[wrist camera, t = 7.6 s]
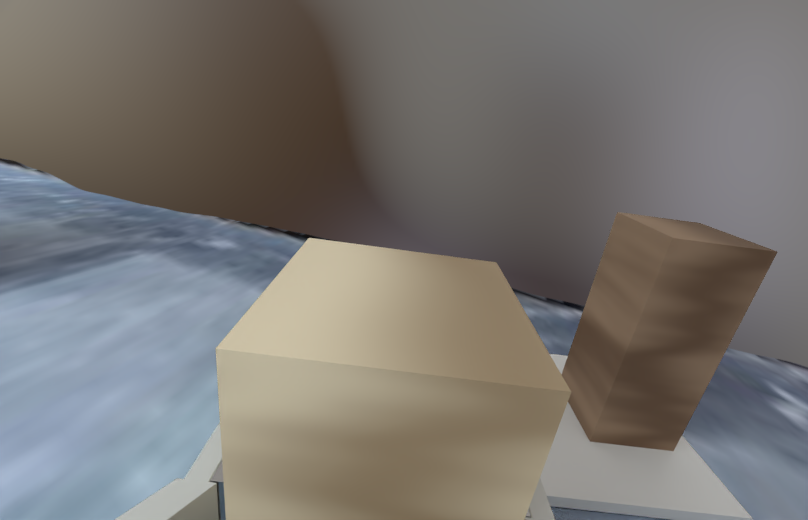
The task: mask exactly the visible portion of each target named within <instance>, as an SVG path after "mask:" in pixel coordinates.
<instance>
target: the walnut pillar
mask: <svg viewBox="0 0 808 520" xmlns="http://www.w3.org/2000/svg"><path fill="white" fill-rule="evenodd" d="M776 254H777V251H774V250H771V249H769V248H766V247H763V246H760V245H758V244H755V243H752V242H750V241H747V240H744V239H741V238H739V237H736V236H733V235H731V234H727V233H725V232H722V231H719V230H717V229H714V228H712V227H709V226H706V225H703V224H701V223H695V222H687V221H680V220H672V219H665V218H657V217H650V216H642V215H635V214H628V213H620V212H617V214H616V217H615V220H614V223H613V226H612V229H611V232H610V235H609V238H608V241H607V243H606V246H605V249H604V252H603V255H602V258H601V261H600V264H599V267H598V270H597V273H596V275H595V278H594V281H593V284H592V287H591V290H590V293H589V296H588V299H587V302H586V305H585V308H584V310H583V313H582V316H581V319H580V322H579V325H578V328H577V331H576V334H575V337H574V340H573V342H572V345H571V348H570V351H569V354H568V357H567V360H566V363H565V366H564V369H563V372H562V377H563V378H564V380H565V382H566V383H567V385H568V387H569V389H570V390H571V394H570V397H569V400H568V403H569V405H570V406H571V408H572V410H573V412H574V414H575V415H576V417H577V419H578V421H579V423H580V425H581V426H582V428H583V430H584V432H585V434H586V436H587V437H588V439H589V441H590V442H598V443H606V444H615V445H624V446H632V447H641V448H649V449H658V450H667V451H674V449H675V447H676V445H677V443H678V442H679V440H680V438H681V436H682V434H683V432H684V430H685V428H686V426H687V424H688V422H689V420H690V419H691V417H692V415H693V413H694V411H695V409H696V407H697V405H698V403H699V401H700V399H701V398H702V396H703V394H704V392H705V390H706V388H707V386H708V384H709V382H710V380H711V378H712V376H713V375H714V373H715V371H716V369H717V367H718V365H719V363H720V361H721V359H722V357H723V355H724V353H725V352H726V350H727V348H728V346H729V344H730V342H731V340H732V338H733V336H734V334H735V332H736V330H737V329H738V327H739V325H740V323H741V321H742V319H743V317H744V315H745V313H746V311H747V309H748V307H749V306H750V304H751V302H752V300H753V298H754V296H755V294H756V292H757V290H758V288H759V286H760V284H761V283H762V280H763V279H764V277H765V275H766V273H767V271H768V269H769V267H770V265H771V263H772V261H773V260H774V258H775V256H776Z"/></svg>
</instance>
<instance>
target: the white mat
mask: <svg viewBox="0 0 808 520" xmlns="http://www.w3.org/2000/svg"><path fill="white" fill-rule="evenodd" d="M550 356H551V358H552V359H553V361H554V363H555V364H556V366H557V368H558V370H559V371H560V373H561V375H562V372H563V369H564V366H565V363H566V360H567V357H568V356H564V355H556V354H550ZM540 479H541V482H542V484H543V487H544V490H545V493H546V495H547V498H548V501H549V504H550V506H553V507H562V508H571V509H580V510H589V511H598V512H607V513H616V514H625V515H634V516H644V517H653V518H662V519H671V520H752V519H753V518H752V517H751V516H750V515H749V514H748V512H747V511H746V510H745V509H744V508H743V507H742V505H741V504H740V503H739V502H738V501H737V500H736V498H735V497H734V496H733V495H732V494H731V492H730V491H729V490H728V489H727V488H726V487H725V485H724V484H723V483H722V482H721V481H720V479H719V478H718V477H717V476H716V475H715V474H714V472H713V471H712V470H711V469H710V468H709V467H708V465H707V464H706V463H705V462H704V461H703V459H702V458H701V457H700V456H699V455H698V454H697V452H696V451H695V450H694V449H693V448H692V447H691V445H690V444H689V443H688V442H687V441H686V439H685V438H684V437H683V436H681V438H680V440H679V442H678V443H677V445H676V447H675V449H674V451H667V450H658V449H649V448H641V447H632V446H624V445H615V444H606V443H598V442H590V441H589V439H588V437H587V436H586V434H585V432H584V430H583V428H582V426H581V425H580V423H579V421H578V419H577V417H576V415H575V414H574V412H573V410H572V408H571V406H570V405H569V403H568V402H567V405H566V408H565V411H564V413H563V416H562V419H561V422H560V424H559V427H558V430H557V432H556V435H555V438H554V441H553V443H552V446H551V449H550V451H549V454H548V457H547V460H546V462H545V465H544V468H543V470H542V473H541V476H540Z"/></svg>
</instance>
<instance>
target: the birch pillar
mask: <svg viewBox="0 0 808 520" xmlns="http://www.w3.org/2000/svg"><path fill="white" fill-rule="evenodd" d="M216 362H217V379H218V396H219V413H220V430H221V447H222V464H223V481H224V498H225V515H226V520H524V519H525V517H526V514H527V511H528V509H529V506H530V503H531V500H532V498H533V495H534V492H535V490H536V487H537V484H538V481H539V479H540V476H541V473H542V470H543V468H544V465H545V462H546V460H547V457H548V454H549V451H550V449H551V446H552V443H553V441H554V438H555V435H556V432H557V430H558V427H559V424H560V422H561V419H562V416H563V413H564V411H565V408H566V405H567V402H568V400H569V397H570V394H571V390H570V389H569V387H568V385H567V383H566V382H565V380H564V378H563V377H562V375H561V373H560V371H559V370H558V368H557V366H556V364H555V363H554V361H553V359H552V358H551V356H550V354H549V352H548V351H547V349H546V347H545V346H544V344H543V342H542V340H541V339H540V337H539V335H538V333H537V332H536V330H535V328H534V327H533V325H532V323H531V321H530V320H529V318H528V316H527V314H526V313H525V311H524V309H523V308H522V306H521V304H520V302H519V301H518V299H517V297H516V296H515V294H514V292H513V290H512V289H511V287H510V285H509V284H508V282H507V280H506V278H505V277H504V275H503V273H502V271H501V270H500V268H499V266H498V265H497V263H496V262H489V261H481V260H473V259H466V258H458V257H451V256H443V255H435V254H428V253H420V252H412V251H405V250H398V249H390V248H382V247H374V246H367V245H359V244H352V243H344V242H337V241H329V240H322V239H314V238H308V240H307V241H306V242H305V243H304V244H303V246H302V247H301V248H300V249H299V250H298V251H297V253H296V254H295V255H294V256H293V257H292V259H291V260H290V261H289V262H288V263H287V265H286V266H285V267H284V268H283V269H282V270H281V272H280V273H279V274H278V275H277V276H276V278H275V279H274V280H273V281H272V282H271V284H270V285H269V286H268V287H267V288H266V289H265V291H264V292H263V293H262V294H261V295H260V297H259V298H258V299H257V300H256V301H255V302H254V304H253V305H252V306H251V307H250V308H249V310H248V311H247V312H246V313H245V314H244V316H243V317H242V318H241V319H240V320H239V321H238V323H237V324H236V325H235V326H234V327H233V329H232V330H231V331H230V332H229V333H228V335H227V336H226V337H225V338H224V339H223V340H222V342H221V343H220V344H219V345H218V346H217V348H216Z"/></svg>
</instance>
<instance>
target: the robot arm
mask: <svg viewBox="0 0 808 520" xmlns="http://www.w3.org/2000/svg"><path fill="white" fill-rule="evenodd" d="M115 520H226V515H225V498H224V481H223V464H222V447H221V430H220V423H219V424H218V425H217V427H216V429H215V430H214V432H213V433H212V435H211V437H210V438H209V440H208V441H207V443H206V444H205V446H204V448H203V449H202V451H201V452H200V454H199V456H198V457H197V459H196V460H195V462H194V463H193V465H192V467H191V468H190V470H189V471H188V473H187V475H186V476H185V478H184V479H178V478H177V479H175V480H174V481H172V482H171V483H169V484H168V485H166V486H165V487H163V488H162V489H160V490H159V491H157V492H156V493H154V494H153V495H151V496H150V497H148V498H147V499H145V500H144V501H142V502H140V503H139V504H137V505H136V506H134V507H133V508H131V509H130V510H128V511H127V512H125V513H124V514H122V515H121V516H119V517H118V518H116V519H115ZM524 520H555V517H554V515H553V512H552V509H551V506H550V504H549V501H548V498H547V495H546V493H545V490H544V487H543V484H542V482H541V479H539V481H538V484H537V487H536V490H535V492H534V495H533V498H532V500H531V503H530V506H529V509H528V511H527V514H526V517H525V519H524Z"/></svg>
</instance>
